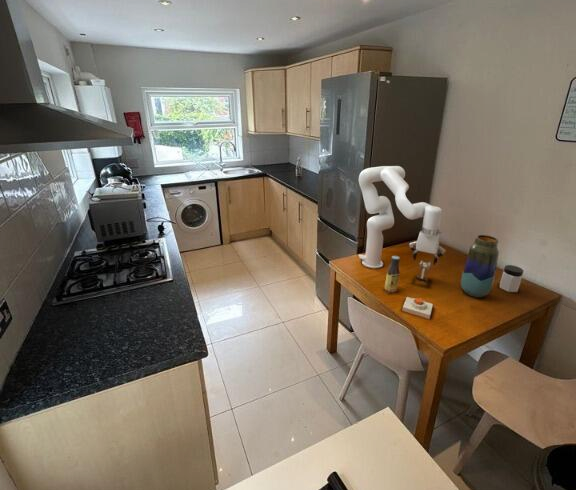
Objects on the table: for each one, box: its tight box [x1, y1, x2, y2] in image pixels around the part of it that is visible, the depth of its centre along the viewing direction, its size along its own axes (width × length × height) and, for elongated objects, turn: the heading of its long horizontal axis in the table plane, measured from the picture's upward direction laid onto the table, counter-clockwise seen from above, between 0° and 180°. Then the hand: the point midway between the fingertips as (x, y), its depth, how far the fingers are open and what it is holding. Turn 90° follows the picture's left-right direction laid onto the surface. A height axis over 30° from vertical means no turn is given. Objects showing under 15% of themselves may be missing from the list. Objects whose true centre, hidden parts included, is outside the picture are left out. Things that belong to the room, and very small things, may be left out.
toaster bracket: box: [416, 260, 432, 284], centre depth 166 cm, size 10×8×12 cm
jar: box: [499, 264, 524, 293], centre depth 160 cm, size 9×8×12 cm
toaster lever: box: [415, 261, 429, 283], centre depth 163 cm, size 11×5×2 cm, turn 149°
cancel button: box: [415, 297, 424, 305], centre depth 143 cm, size 4×4×2 cm
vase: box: [460, 234, 500, 298], centre depth 153 cm, size 14×14×31 cm
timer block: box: [402, 296, 434, 320], centre depth 144 cm, size 12×10×4 cm
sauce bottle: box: [384, 255, 401, 295], centre depth 156 cm, size 7×6×20 cm
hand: (424, 261), depth 157 cm, fingers open, 9 cm apart
